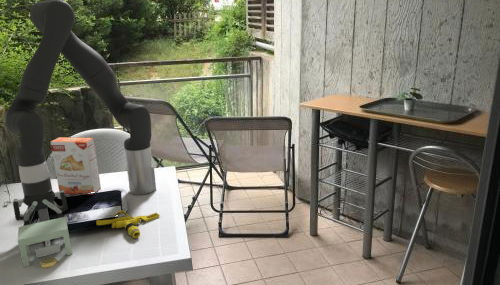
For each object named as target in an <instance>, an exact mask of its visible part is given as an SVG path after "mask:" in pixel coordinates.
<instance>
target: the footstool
mask: <svg viewBox="0 0 500 285" xmlns="http://www.w3.org/2000/svg"><path fill="white" fill-rule="evenodd" d="M59 238H63V241H64V243H63V244H64V247H65V253H66V256H70V255H73V251H72V244H71V240H70V234H69V229H68V222H67V217H66V216H63V217H62V218H58V217H57V218H54V219H49V220H48V221H44V222H40V221H39V222H35V223H30V225H26V226H25V225H22V226H18V229H17V243H18V248H19V252H20V256H21V262H22V265H23V268H25V267H28V266H29V267H30V258H29V254H30V253H31V252H30V251H31V250H30V247H29V246H30V245H34V244H38V243H43V242H45V241H47V240H50V241H51V240H54V239H59Z"/></svg>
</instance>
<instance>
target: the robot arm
mask: <svg viewBox="0 0 500 285" xmlns="http://www.w3.org/2000/svg"><path fill="white" fill-rule="evenodd" d="M30 7H31V8H30V13H29V14H30V15H29V16H30V21H31V22H32V24H33V25H34V27H35V28H36V30H37V31H39V33H41V35H42V36H41V40H40V41H39V42H40V43H39V44H38V46H37V49H36V50H35V52H34V54H33V55H32V57H30V58H31V59H30V60H29V61H28V63H27V65H26V67H25V68H24V71H23V73H22V77H21V81H20V83H19V88H18V92H17V94H16V96H15V97H14V99H13V100H12V102H11V103H10V106H9V108H8V110H7V112H6V113H5V114H6V115H5V120H4V121H5V126H6V129H7V130H8V131H10V133H12V134H16V135H19V137H20V143H19V144H18V145H17V146H16V148H15V155H16V158H17V164H18V174H19V179H20V181H21V182H20V183H21V188H22V193H23V198H20V199H19V198H18V199H17V198H14V199H13V200H12V207H13V212H14V218H15V221H17V222H18V221H23V224H24V226H26V225H30V224H31V221H30V220H31V219H30V217H31V215H32V213H33V212H34V211H35V212H38V210H41V209H47V210H48V208H50V210H53V211H54V212H56V217H57V218H62V217H64V216H63V212H64V211H67V210H68V208H69V207H68V203H67V198H66V193H64V190H60V192H59V191H56V192H54V191H53V186H52V181H51V180H52V179H51V176H50V171H49V166H48V163H47V159H46V155H45V149H44V144H45V130H46V129H45V123H44V120H43V118H42V116H41V115H40V114H39V113H37V112H35V110H36V109H37V107H38V106H39V105H41V104H43V103H45V101H46V98H47V95H48V91H49V88H50V84H51V81H52V77H53V75H54V74H53V73H54V71H55V68H56V66H57V63H58V60H59V59H60V55H62V56H63V57H64V58H65V59H66V60H67V61H68V63H69V64H70V65H71V66H72V68H73V69H74V70H75V71H76V72H77V73H78V75H79V77H80V78H81V79H82V80H83V81H84V82H85V83H86V84H87V86H88V87H89V88H90V89H91V90H92V91H93V92H94V94H96V96H97V97H98V98H99V99H100V100H101V101H102V102H103V104H104V105H105V106H106V107H107V109H108V110H109V112H110V114H111V115H112V116H113V118H114V119H115V121H116V122H117V123H118V125H119V126H120V127H122V128H124V129H128V130H129V137H128V138H126V139H125V140H124V142H123V146H124V154H125V155H124V156H125V162H126V163H125V164H126V172H127V178H128V180H127V181H128V187H129V192H130V194H132V195H136V196H137V195H139V196H140V195H141V196H142V195H146V194H150V193H152V192H154V191H156V190H157V184H156V176H155V175H156V174H155V173H156V172H155V167H154V165H153V159H152V150H151V140H152V118H151V114H150V113H151V112H150V110H149V109H148V108H147V106H145V105H141V104H139V103H132V102H130V101H129V100H128V99H127V98H126V96H124V94H123V93H122V92H121V90H120V88H119V86H118V80H117V76H116V74H115V72H114V71H113V69H112V67H111V66H110V65H109V64H108V62H107V61H106V60H105V59H104V57H103V56H102V55H101V54H100V53H99V52H97V50H95V49H93V48H92V47H91V46H89V45H88V44H86V43H85V42H83V41H82V40H81V39H80V38H78V36H77V35H76V34H75V33H74V32H73V31H72V29H73V27H74V26H75V22H76V17H75V16H76V15H75V11H74V9H73V8H72V6H71V5H70V4H69V3H68V2H67V1H65V0H40V1H37V2H35V3H33V5H32V6H30ZM56 197H57V199H59V200H61V204H62V205H61V206H60V205H58V204H57V202H55V198H56ZM22 204H24V205H26V206H27V208H26V209H25V212H24V214H22V213H21V209H20V208H21V207H22Z"/></svg>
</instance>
